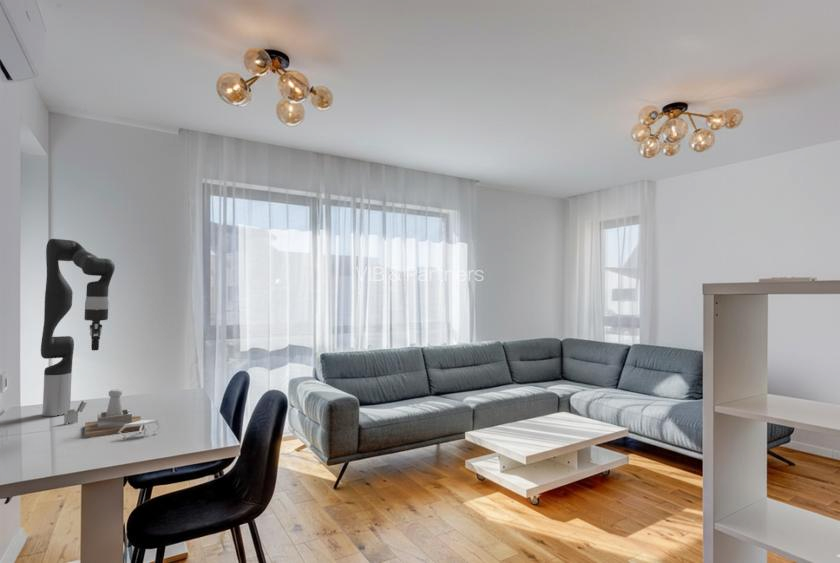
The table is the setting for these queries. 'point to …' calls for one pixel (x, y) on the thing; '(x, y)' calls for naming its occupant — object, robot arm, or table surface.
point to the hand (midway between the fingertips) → (94, 349)
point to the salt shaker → (114, 403)
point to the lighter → (73, 413)
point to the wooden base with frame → (111, 424)
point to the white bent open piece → (141, 423)
